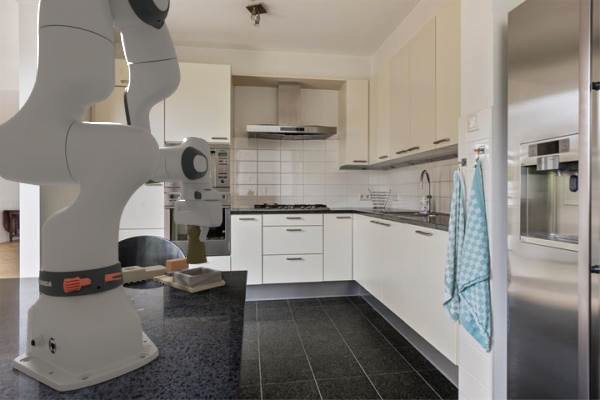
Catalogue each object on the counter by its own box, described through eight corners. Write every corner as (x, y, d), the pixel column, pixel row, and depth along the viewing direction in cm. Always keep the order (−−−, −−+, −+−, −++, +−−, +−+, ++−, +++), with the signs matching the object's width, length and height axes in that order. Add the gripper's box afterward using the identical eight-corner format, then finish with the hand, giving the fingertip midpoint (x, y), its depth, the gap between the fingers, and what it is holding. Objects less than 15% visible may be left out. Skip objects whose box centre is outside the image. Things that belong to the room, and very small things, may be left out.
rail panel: (225, 284, 100) (224, 271, 100) (191, 292, 92) (191, 278, 92) (184, 274, 114) (184, 262, 114) (153, 280, 106) (152, 267, 106)
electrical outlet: (168, 265, 111) (108, 274, 99) (168, 277, 111) (108, 288, 99) (159, 262, 116) (101, 270, 104) (160, 274, 117) (101, 283, 104)
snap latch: (188, 268, 108) (188, 258, 108) (171, 271, 103) (171, 261, 103) (183, 266, 110) (183, 257, 110) (166, 270, 106) (165, 260, 106)
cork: (186, 264, 96) (186, 226, 96) (185, 261, 101) (184, 224, 101) (208, 263, 98) (208, 225, 98) (205, 259, 104) (205, 223, 104)
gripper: (168, 194, 104) (168, 239, 104) (207, 193, 91) (207, 245, 91) (186, 194, 109) (187, 237, 109) (226, 193, 95) (226, 242, 96)
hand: (196, 240), depth 100 cm, fingers closed on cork, 4 cm apart
